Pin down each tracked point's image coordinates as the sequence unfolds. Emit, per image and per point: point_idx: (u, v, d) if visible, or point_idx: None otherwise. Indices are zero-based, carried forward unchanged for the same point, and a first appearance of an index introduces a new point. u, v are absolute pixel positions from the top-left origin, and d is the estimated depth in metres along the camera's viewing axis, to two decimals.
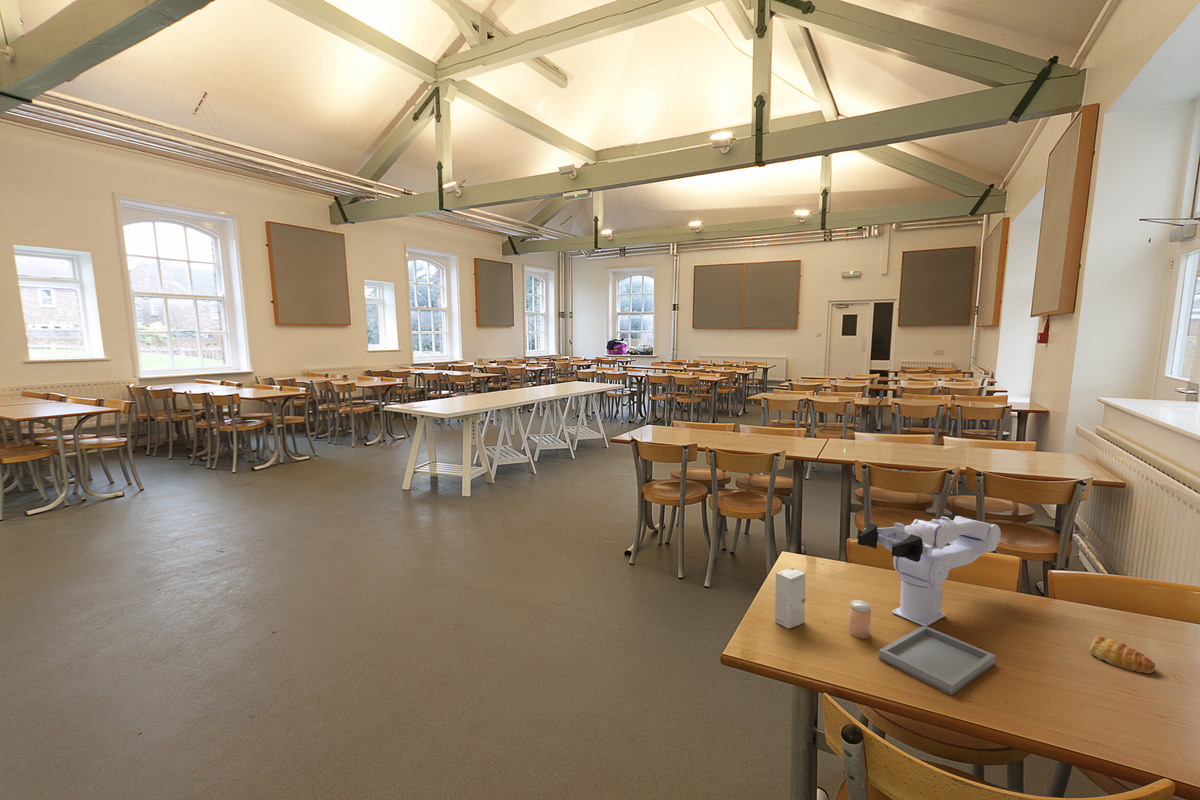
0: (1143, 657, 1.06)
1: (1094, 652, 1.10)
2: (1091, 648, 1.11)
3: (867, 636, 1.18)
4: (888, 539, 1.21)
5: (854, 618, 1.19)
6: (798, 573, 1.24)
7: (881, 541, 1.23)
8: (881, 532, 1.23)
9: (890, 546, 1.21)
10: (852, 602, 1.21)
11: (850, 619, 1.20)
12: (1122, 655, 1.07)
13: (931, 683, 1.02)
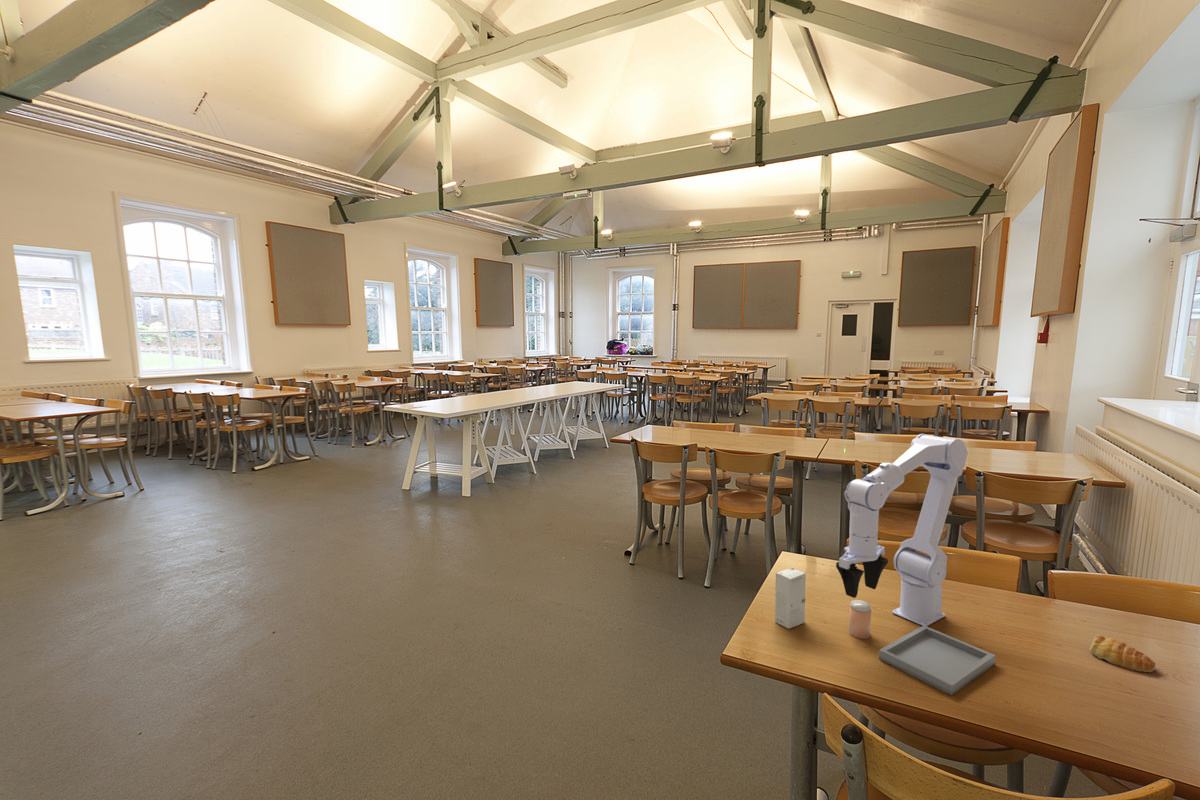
0: (1143, 656, 1.06)
1: (1094, 652, 1.10)
2: (1091, 647, 1.11)
3: (867, 636, 1.18)
4: None
5: (854, 618, 1.19)
6: (798, 573, 1.24)
7: None
8: None
9: None
10: (852, 602, 1.21)
11: (850, 619, 1.20)
12: (1123, 654, 1.07)
13: (931, 683, 1.02)
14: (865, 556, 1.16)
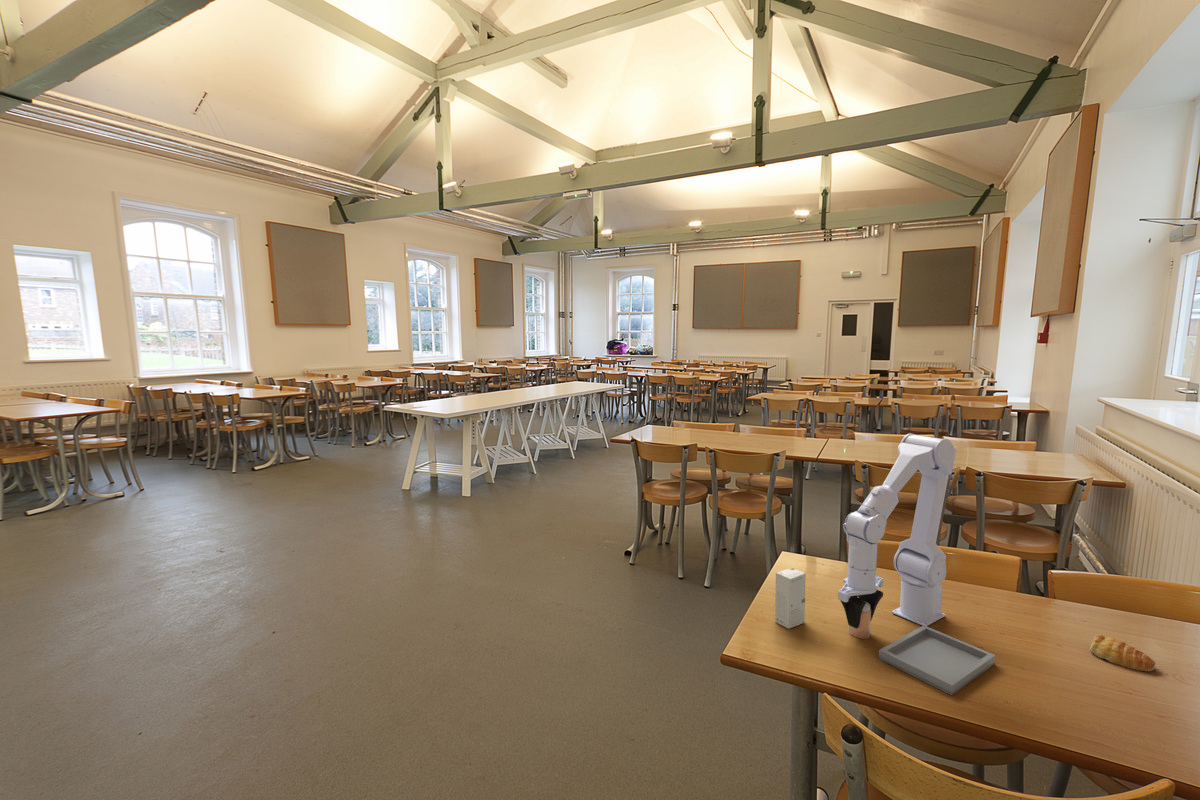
0: (1143, 655, 1.07)
1: (1095, 651, 1.11)
2: (1092, 647, 1.11)
3: (867, 636, 1.18)
4: None
5: None
6: (798, 573, 1.24)
7: None
8: None
9: None
10: None
11: None
12: (1123, 654, 1.07)
13: (931, 683, 1.02)
14: (864, 589, 1.16)
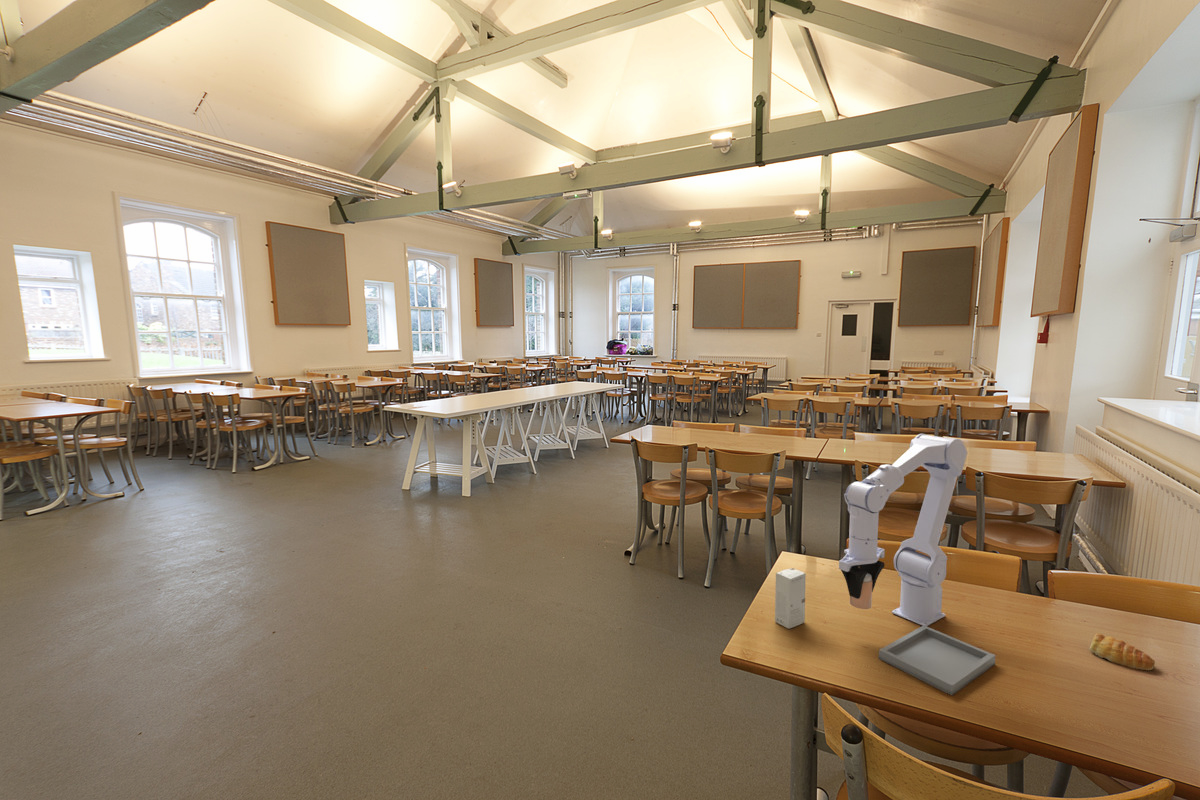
0: (1143, 654, 1.07)
1: (1095, 650, 1.11)
2: (1092, 646, 1.11)
3: (868, 606, 1.18)
4: None
5: None
6: (798, 573, 1.24)
7: None
8: None
9: None
10: None
11: None
12: (1123, 653, 1.08)
13: (931, 683, 1.02)
14: (865, 558, 1.16)
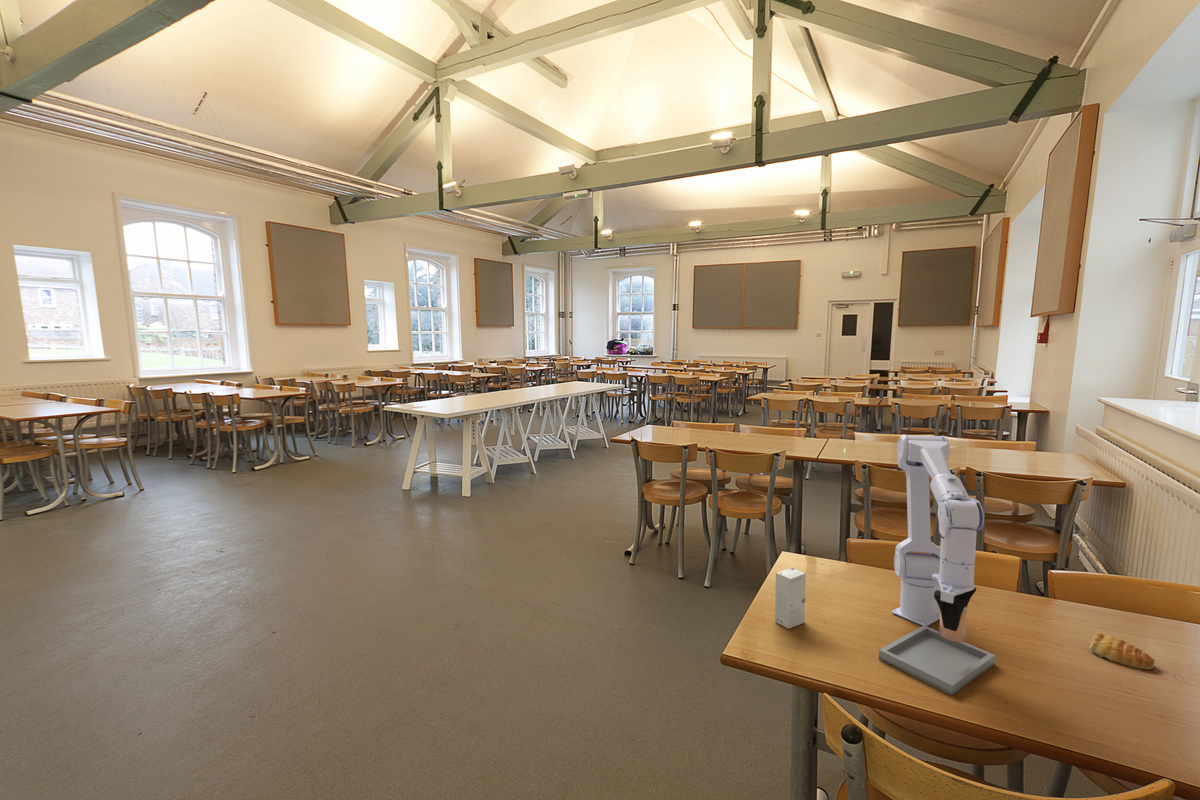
0: (1142, 653, 1.07)
1: (1095, 650, 1.11)
2: (1092, 645, 1.12)
3: (964, 638, 1.05)
4: None
5: None
6: (798, 573, 1.24)
7: None
8: None
9: None
10: None
11: None
12: (1123, 652, 1.08)
13: (931, 683, 1.02)
14: (965, 586, 1.02)
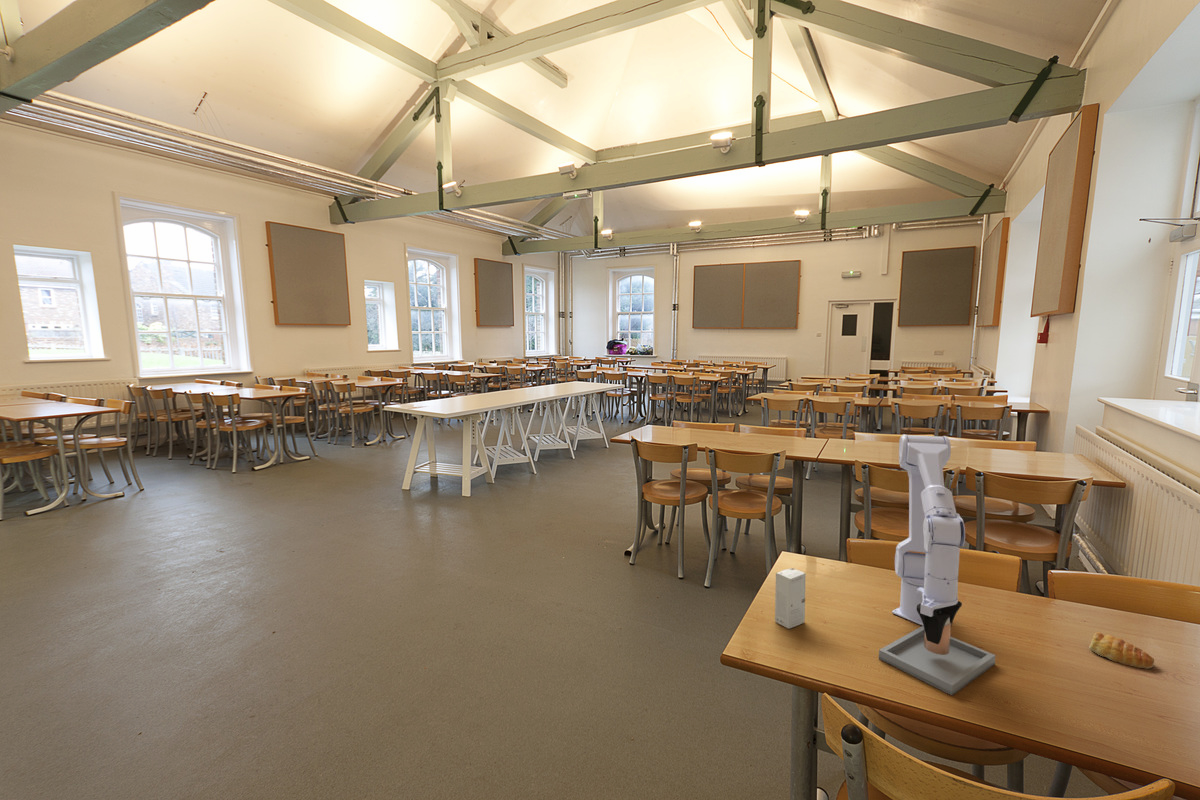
0: (1142, 652, 1.08)
1: (1095, 649, 1.11)
2: (1092, 645, 1.12)
3: (948, 651, 1.07)
4: None
5: None
6: (798, 573, 1.24)
7: None
8: None
9: None
10: None
11: None
12: (1123, 651, 1.08)
13: (931, 683, 1.02)
14: (947, 600, 1.05)
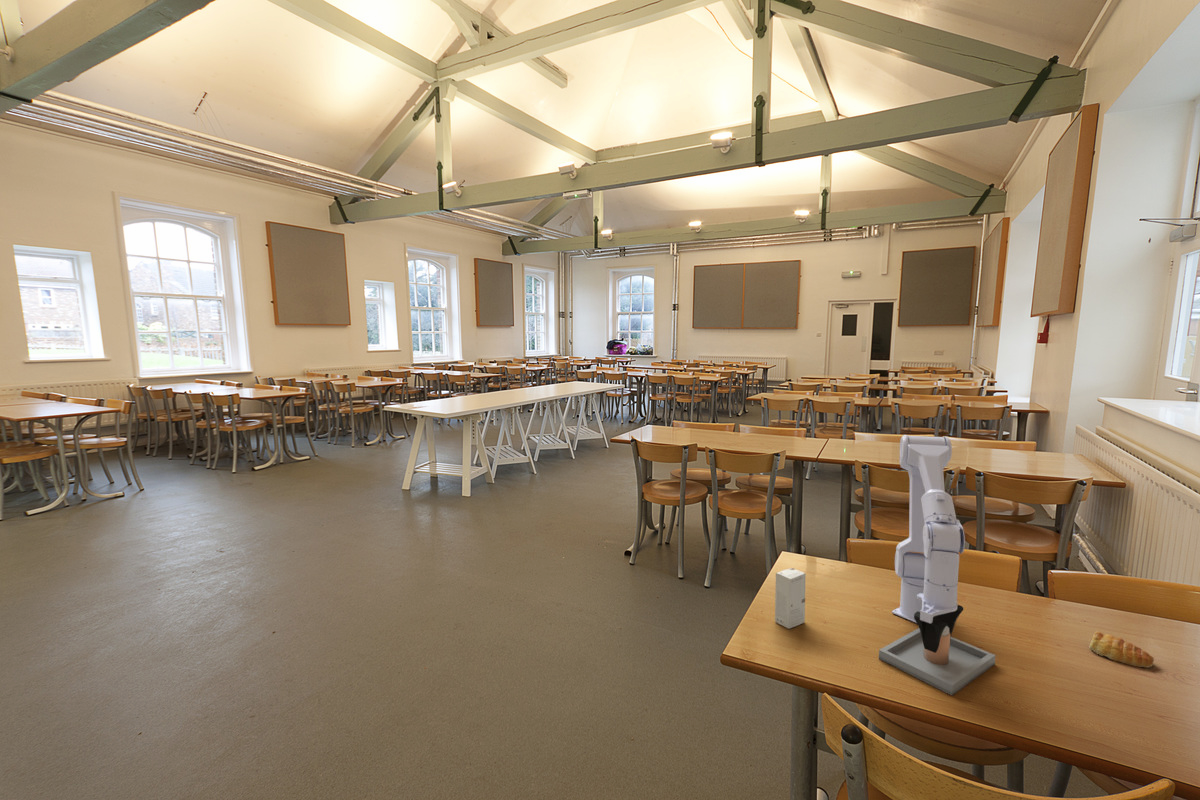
0: (1142, 651, 1.08)
1: (1095, 649, 1.11)
2: (1091, 644, 1.12)
3: (947, 662, 1.07)
4: None
5: None
6: (798, 573, 1.24)
7: None
8: None
9: None
10: None
11: None
12: (1123, 650, 1.09)
13: (931, 683, 1.02)
14: (946, 607, 1.05)
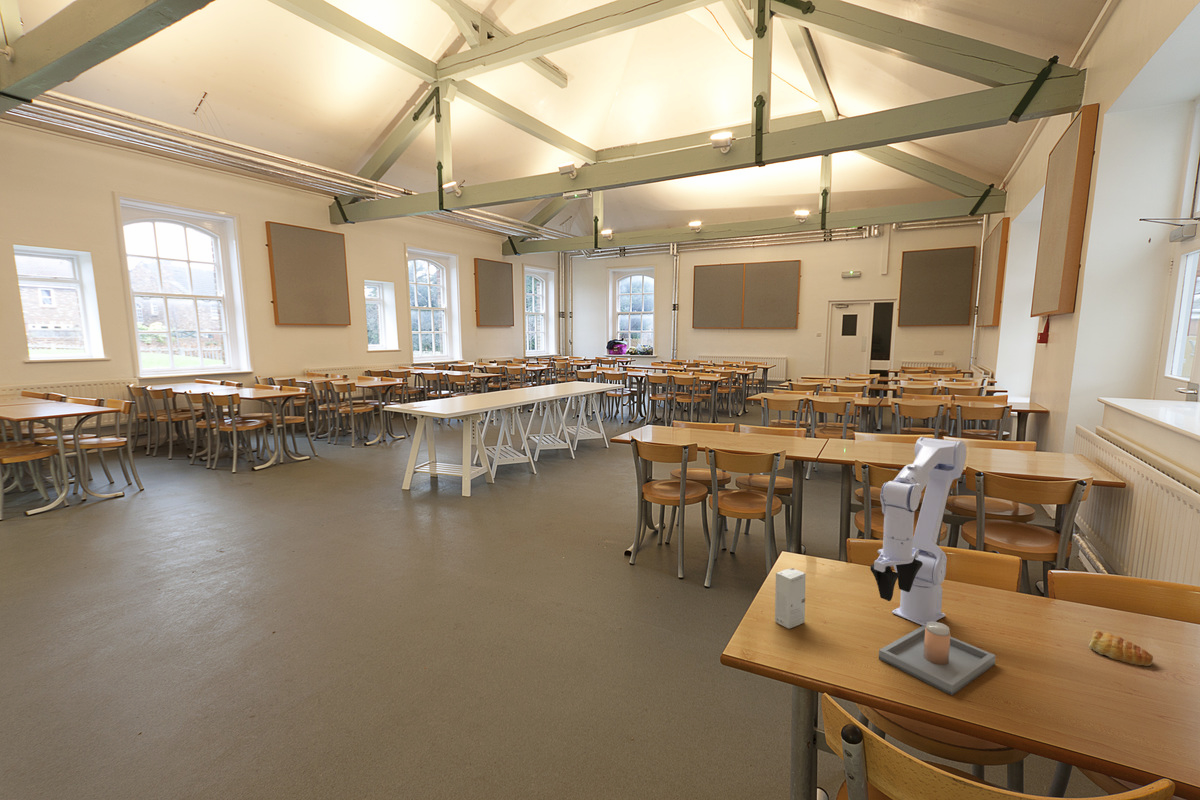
0: (1141, 650, 1.09)
1: (1095, 648, 1.12)
2: (1091, 643, 1.12)
3: (947, 662, 1.07)
4: None
5: (933, 643, 1.07)
6: (798, 573, 1.24)
7: None
8: None
9: None
10: (928, 625, 1.09)
11: (927, 644, 1.09)
12: (1123, 649, 1.09)
13: (931, 683, 1.02)
14: (900, 559, 1.14)
